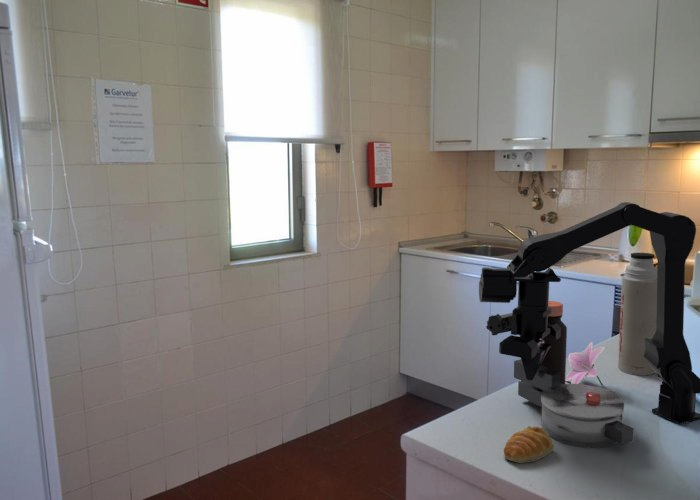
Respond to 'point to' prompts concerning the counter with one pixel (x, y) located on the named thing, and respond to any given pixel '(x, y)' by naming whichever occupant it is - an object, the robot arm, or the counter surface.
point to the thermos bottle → (637, 313)
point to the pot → (578, 425)
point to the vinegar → (556, 342)
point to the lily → (583, 364)
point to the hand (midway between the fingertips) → (529, 379)
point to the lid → (572, 396)
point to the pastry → (528, 445)
